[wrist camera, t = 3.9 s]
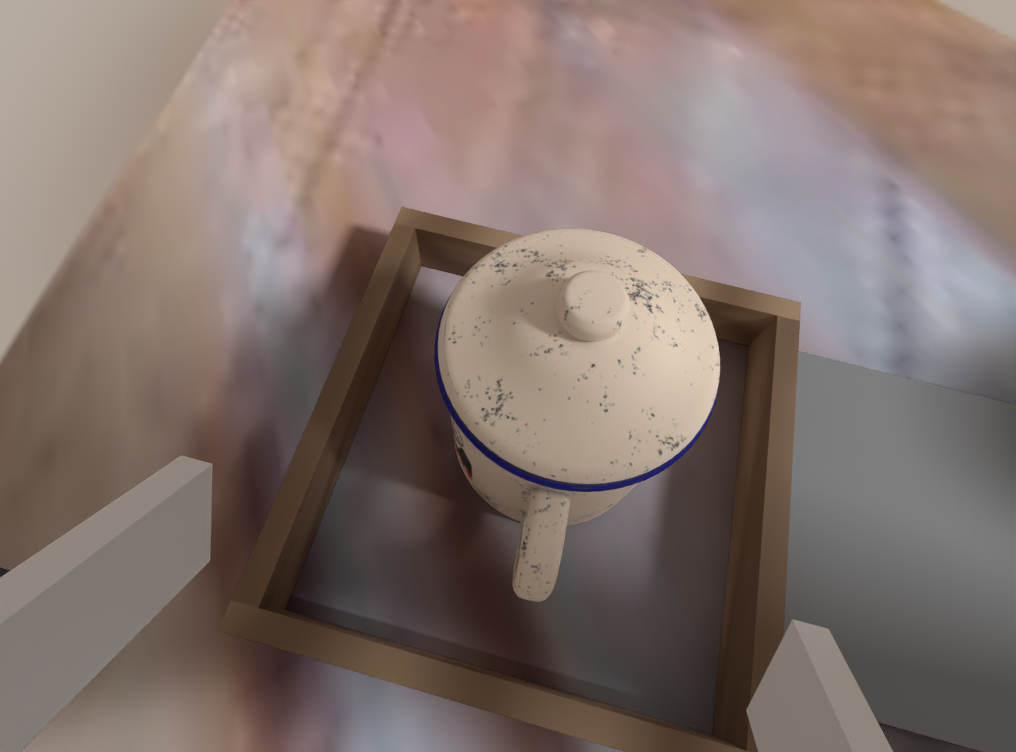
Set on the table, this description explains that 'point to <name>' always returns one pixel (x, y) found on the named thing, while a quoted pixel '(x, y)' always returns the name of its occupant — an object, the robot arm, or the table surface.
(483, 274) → the teacup with lid
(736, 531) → the wooden frame
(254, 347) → the table surface
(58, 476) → the table surface
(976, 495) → the rubber mat
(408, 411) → the table surface
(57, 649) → the robot arm
